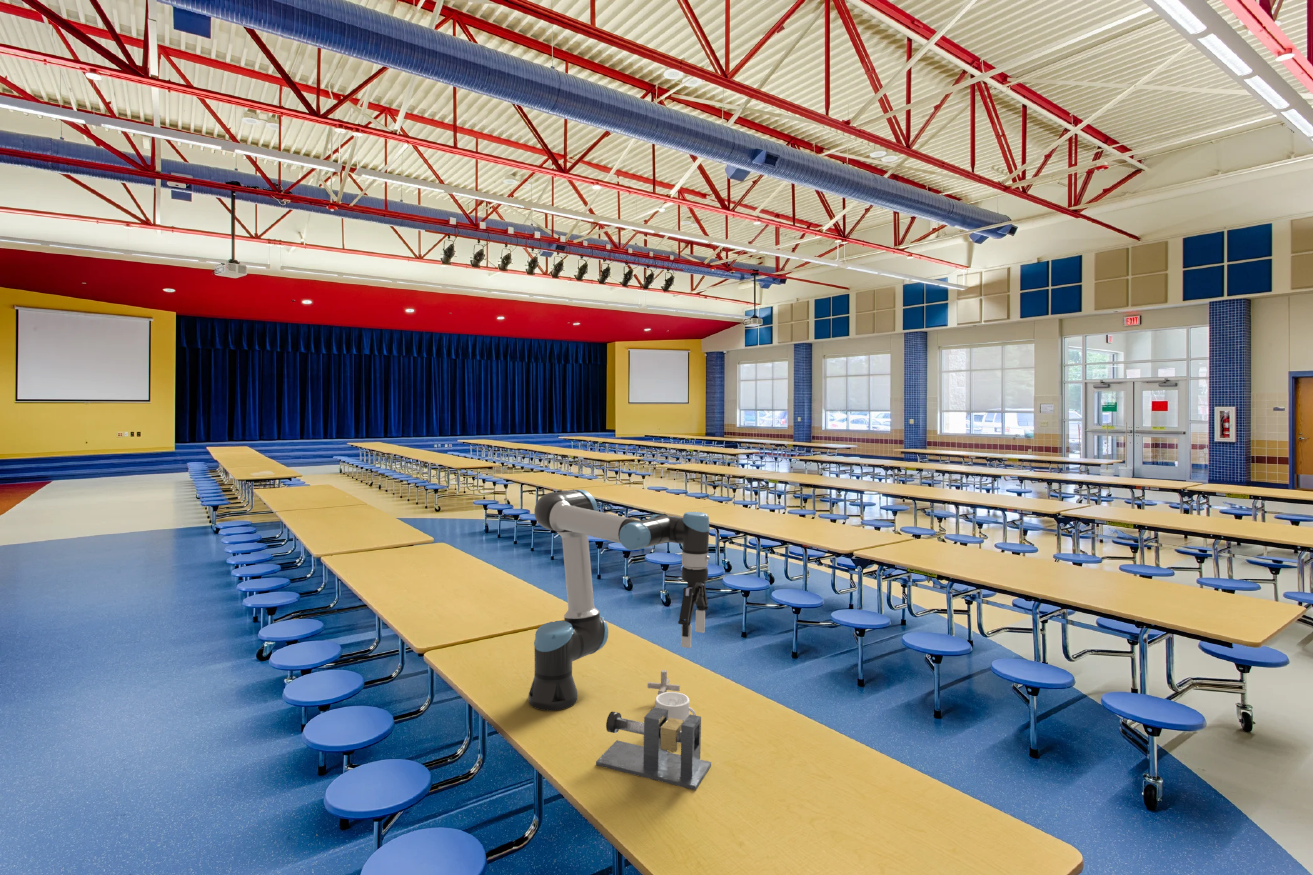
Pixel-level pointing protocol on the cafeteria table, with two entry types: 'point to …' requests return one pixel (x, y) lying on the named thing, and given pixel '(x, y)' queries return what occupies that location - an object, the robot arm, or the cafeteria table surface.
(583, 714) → the cafeteria table surface
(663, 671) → the pipe connector
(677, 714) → the mug
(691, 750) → the bearing block
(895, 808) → the cafeteria table surface
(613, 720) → the shaft
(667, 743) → the spacer
